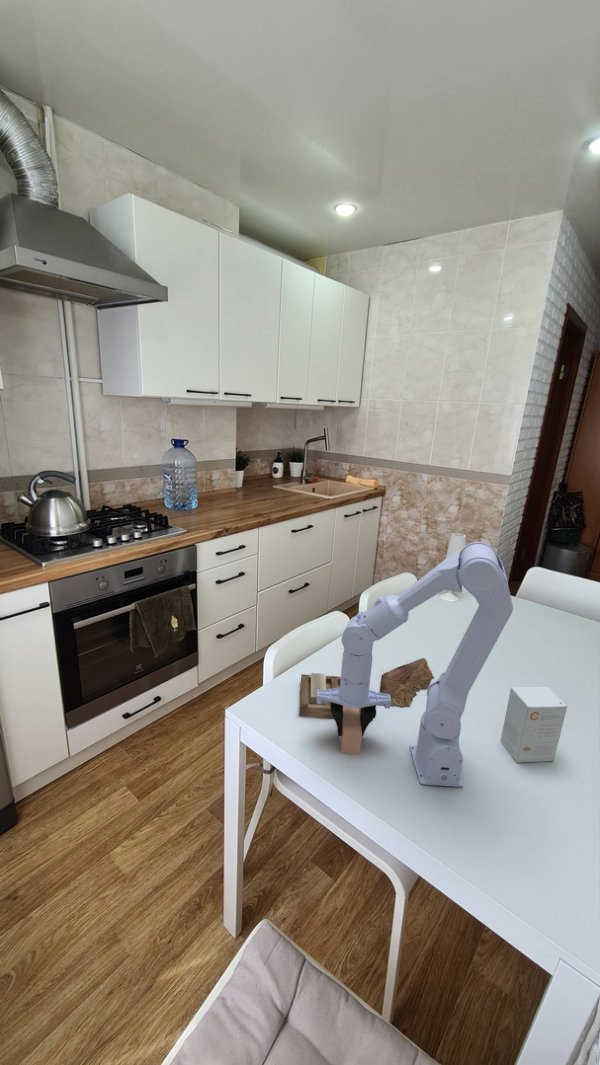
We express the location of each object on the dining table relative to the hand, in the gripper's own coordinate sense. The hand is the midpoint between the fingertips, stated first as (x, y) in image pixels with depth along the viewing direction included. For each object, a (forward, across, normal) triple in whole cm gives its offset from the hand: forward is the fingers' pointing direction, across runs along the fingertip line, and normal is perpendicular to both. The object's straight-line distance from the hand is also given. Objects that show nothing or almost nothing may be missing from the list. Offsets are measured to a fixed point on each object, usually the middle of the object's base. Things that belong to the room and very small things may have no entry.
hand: (350, 733), depth 91 cm
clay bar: (+1, 0, 0) cm, 1 cm away
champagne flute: (+2, -42, -75) cm, 86 cm away
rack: (+1, +2, -12) cm, 12 cm away
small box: (+2, -36, 0) cm, 36 cm away
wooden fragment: (+2, -16, -22) cm, 27 cm away
